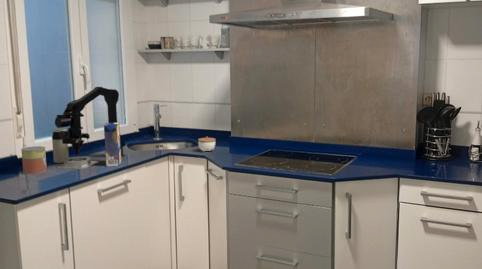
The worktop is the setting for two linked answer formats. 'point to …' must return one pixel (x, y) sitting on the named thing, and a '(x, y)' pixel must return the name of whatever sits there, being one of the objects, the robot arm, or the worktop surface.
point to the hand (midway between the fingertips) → (77, 154)
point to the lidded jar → (206, 143)
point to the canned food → (34, 160)
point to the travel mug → (59, 147)
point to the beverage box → (112, 144)
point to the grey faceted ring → (77, 163)
